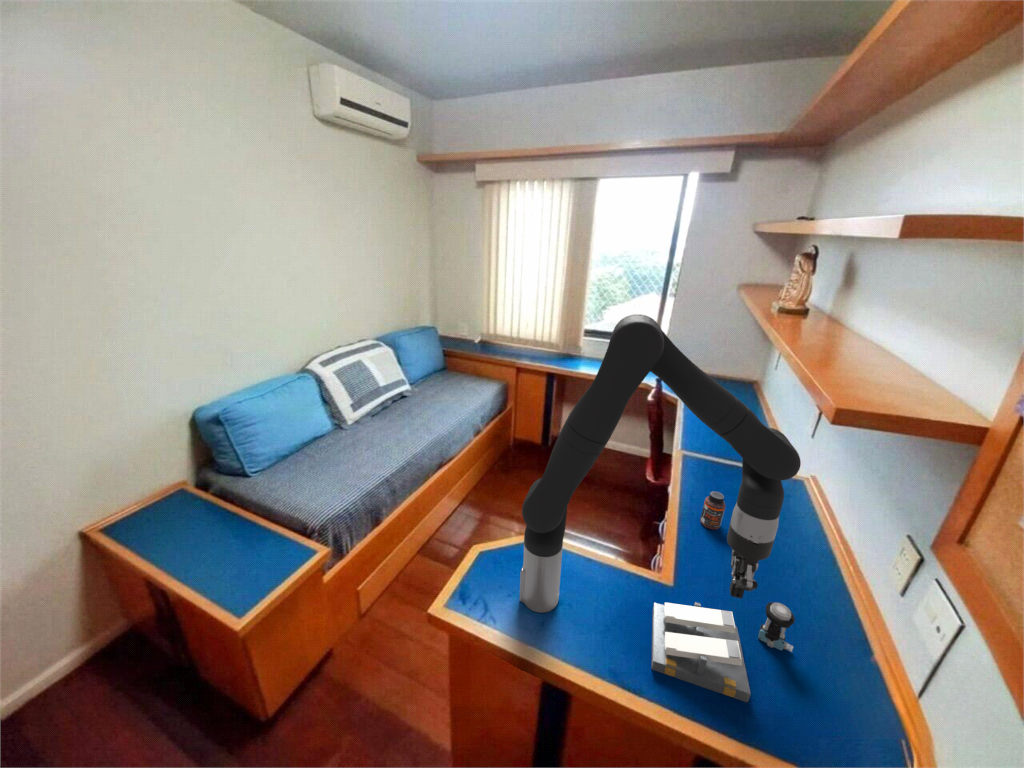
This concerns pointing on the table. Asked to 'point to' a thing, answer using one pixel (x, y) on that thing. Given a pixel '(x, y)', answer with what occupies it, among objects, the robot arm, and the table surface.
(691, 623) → the rocker back
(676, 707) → the table surface
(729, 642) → the rocker front
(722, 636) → the switch unit
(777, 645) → the push button
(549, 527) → the robot arm
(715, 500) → the supplement bottle
